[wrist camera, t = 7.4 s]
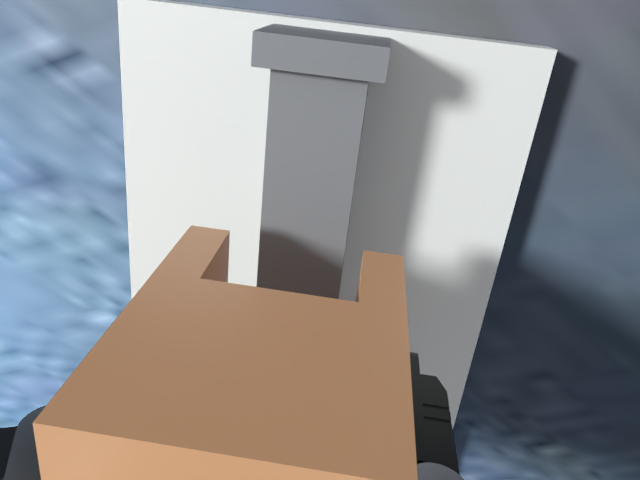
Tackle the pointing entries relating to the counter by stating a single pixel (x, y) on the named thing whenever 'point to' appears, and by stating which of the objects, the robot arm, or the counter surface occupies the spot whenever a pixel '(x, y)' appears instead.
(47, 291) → the counter surface
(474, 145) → the rail board
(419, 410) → the robot arm
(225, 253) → the block
